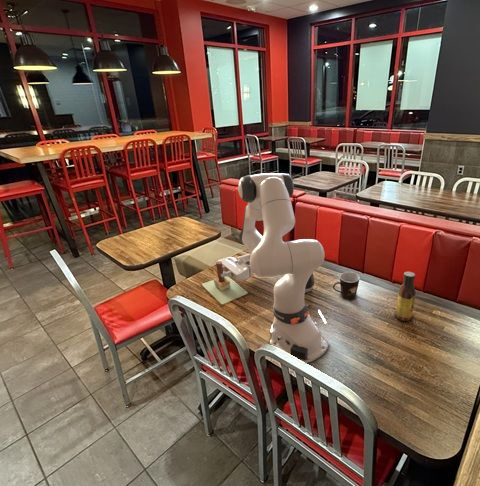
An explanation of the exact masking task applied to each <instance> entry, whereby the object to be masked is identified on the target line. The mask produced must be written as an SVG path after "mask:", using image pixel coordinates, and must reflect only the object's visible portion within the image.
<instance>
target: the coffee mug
mask: <svg viewBox="0 0 480 486" xmlns="http://www.w3.org/2000/svg"><path fill="white" fill-rule="evenodd" d="M360 278H361V277H360V275H359V274H357V273H356V272H352V271H345V272H342V273H340V274H339V281H337V282H334V284H333V286H332V288H333V289H334V291H335V292H338V293H340V297H341V298H342V299H344V300H345V301H353V300H356V298H357V293H358V288H359V283H360V280H361V279H360ZM336 285H340V290H338V289H336V288H335V287H336Z"/></svg>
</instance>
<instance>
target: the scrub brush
mask: <svg viewBox="0 0 480 486" xmlns="http://www.w3.org/2000/svg"><path fill="white" fill-rule="evenodd" d="M215 266H216V270H217V273H216V274H217V279H216V278H214V279H213V280H214V285H215V286H216V287H217V288H219V289H220V290H221V291H223V290H225V289H227V288H230V287H231V286H230V281H228V280H227V279H226V278H224V277H221V276H220V273H222V272H224V271H223V266H222V262H221V261H219V260H218V261H216V262H215Z"/></svg>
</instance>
